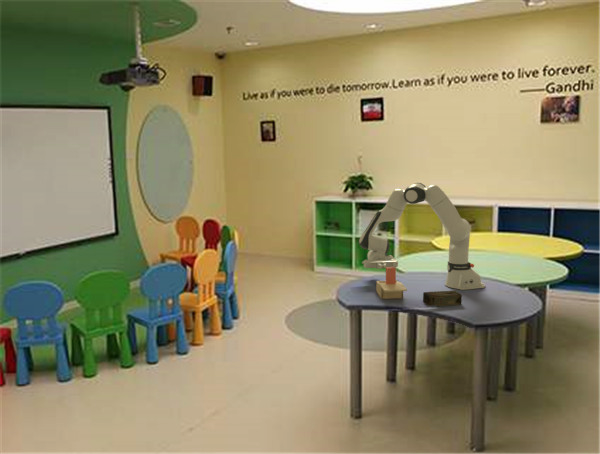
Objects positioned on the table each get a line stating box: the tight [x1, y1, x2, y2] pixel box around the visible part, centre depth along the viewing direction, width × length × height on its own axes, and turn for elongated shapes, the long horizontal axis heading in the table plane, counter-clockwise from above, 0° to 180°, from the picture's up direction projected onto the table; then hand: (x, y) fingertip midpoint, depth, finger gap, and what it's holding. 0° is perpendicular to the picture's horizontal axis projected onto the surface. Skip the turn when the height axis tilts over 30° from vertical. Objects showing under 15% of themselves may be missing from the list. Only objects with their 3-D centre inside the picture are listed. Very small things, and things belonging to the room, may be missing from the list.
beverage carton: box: [422, 289, 463, 307], centre depth 296 cm, size 8×19×7 cm, turn 100°
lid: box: [379, 267, 408, 292], centre depth 301 cm, size 14×12×10 cm
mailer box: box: [375, 279, 404, 300], centre depth 310 cm, size 14×12×7 cm
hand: (383, 266), depth 324 cm, fingers closed
